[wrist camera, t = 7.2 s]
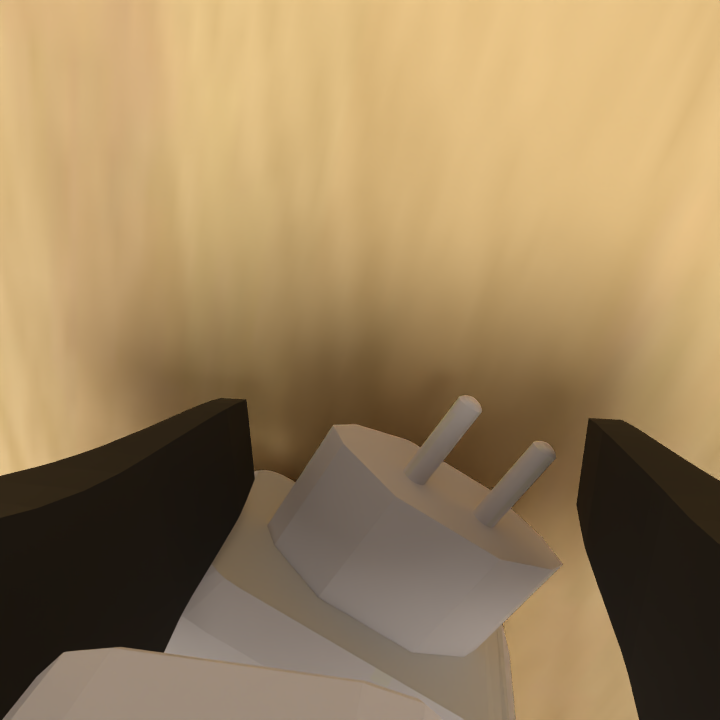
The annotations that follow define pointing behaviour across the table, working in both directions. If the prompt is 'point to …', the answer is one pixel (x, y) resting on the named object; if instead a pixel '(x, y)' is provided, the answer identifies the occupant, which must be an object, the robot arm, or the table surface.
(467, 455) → the table surface
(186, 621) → the charger
